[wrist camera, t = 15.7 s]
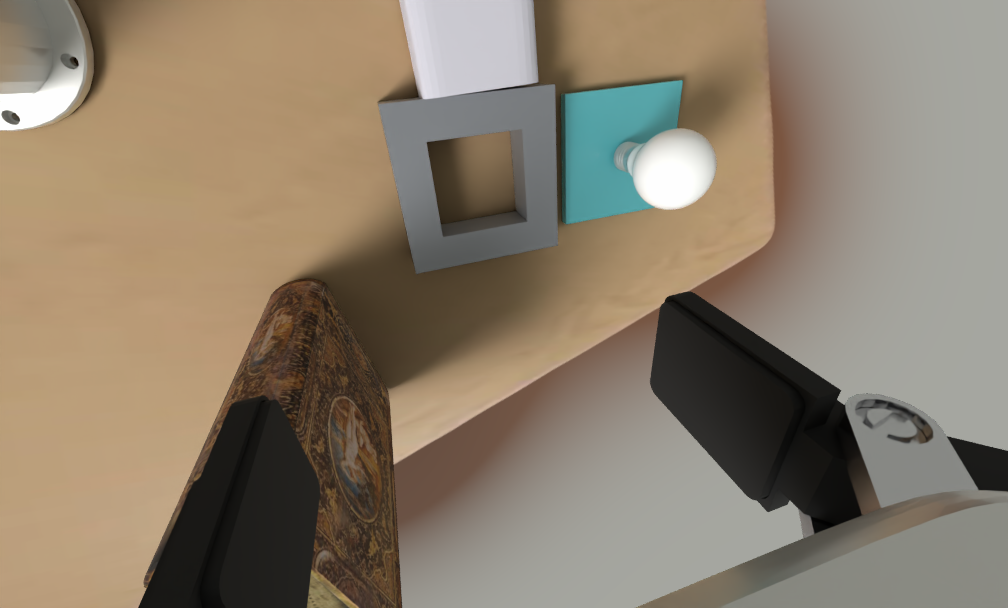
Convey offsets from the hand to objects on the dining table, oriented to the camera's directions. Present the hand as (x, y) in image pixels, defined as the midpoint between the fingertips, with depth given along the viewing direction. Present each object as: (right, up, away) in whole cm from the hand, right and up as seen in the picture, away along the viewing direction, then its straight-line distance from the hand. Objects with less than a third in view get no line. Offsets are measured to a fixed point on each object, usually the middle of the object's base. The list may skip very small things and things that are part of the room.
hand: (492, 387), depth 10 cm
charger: (-3, +27, +21) cm, 34 cm away
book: (-18, -2, +32) cm, 37 cm away
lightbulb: (+12, +17, +30) cm, 36 cm away
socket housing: (-3, +14, +27) cm, 31 cm away
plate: (+12, +17, +31) cm, 37 cm away
